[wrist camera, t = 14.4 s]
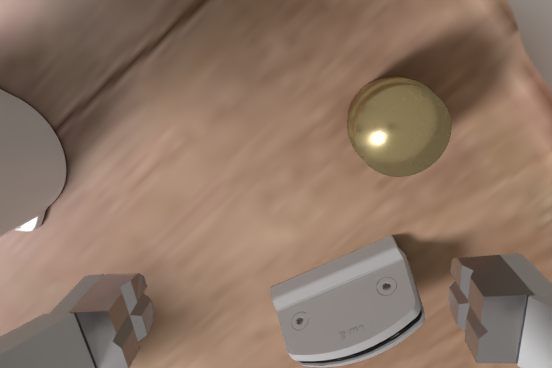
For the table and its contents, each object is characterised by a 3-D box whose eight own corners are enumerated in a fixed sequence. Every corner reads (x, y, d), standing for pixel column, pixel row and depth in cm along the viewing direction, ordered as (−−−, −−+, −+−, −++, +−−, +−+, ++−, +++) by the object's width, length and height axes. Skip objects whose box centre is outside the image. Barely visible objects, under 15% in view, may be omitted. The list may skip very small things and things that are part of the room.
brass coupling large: (346, 159, 38) (354, 183, 32) (342, 79, 36) (349, 87, 29) (427, 152, 37) (452, 175, 31) (430, 69, 35) (458, 75, 28)
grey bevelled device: (394, 233, 41) (432, 313, 33) (407, 255, 44) (444, 334, 36) (267, 288, 45) (274, 370, 38) (286, 305, 48) (296, 386, 40)
